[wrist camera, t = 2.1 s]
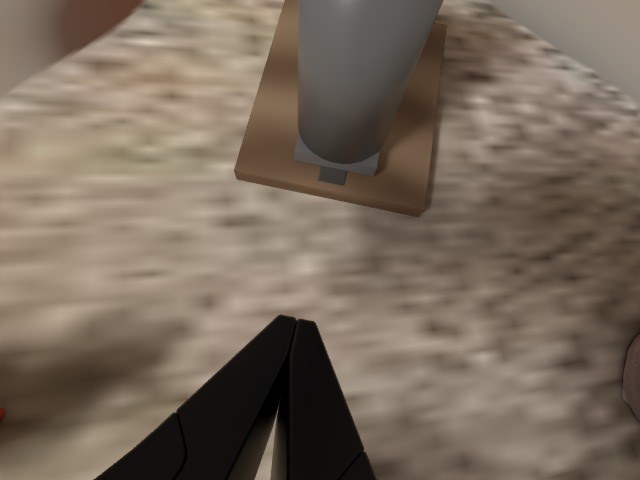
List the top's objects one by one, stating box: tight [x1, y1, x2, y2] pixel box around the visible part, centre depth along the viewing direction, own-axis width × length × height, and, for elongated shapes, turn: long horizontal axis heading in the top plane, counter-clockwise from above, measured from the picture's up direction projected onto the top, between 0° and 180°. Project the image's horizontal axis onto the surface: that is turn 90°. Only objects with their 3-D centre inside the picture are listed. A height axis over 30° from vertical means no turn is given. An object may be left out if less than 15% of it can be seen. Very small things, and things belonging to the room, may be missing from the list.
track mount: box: [234, 0, 447, 217], centre depth 24 cm, size 15×12×5 cm
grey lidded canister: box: [294, 0, 443, 176], centre depth 17 cm, size 6×6×14 cm
